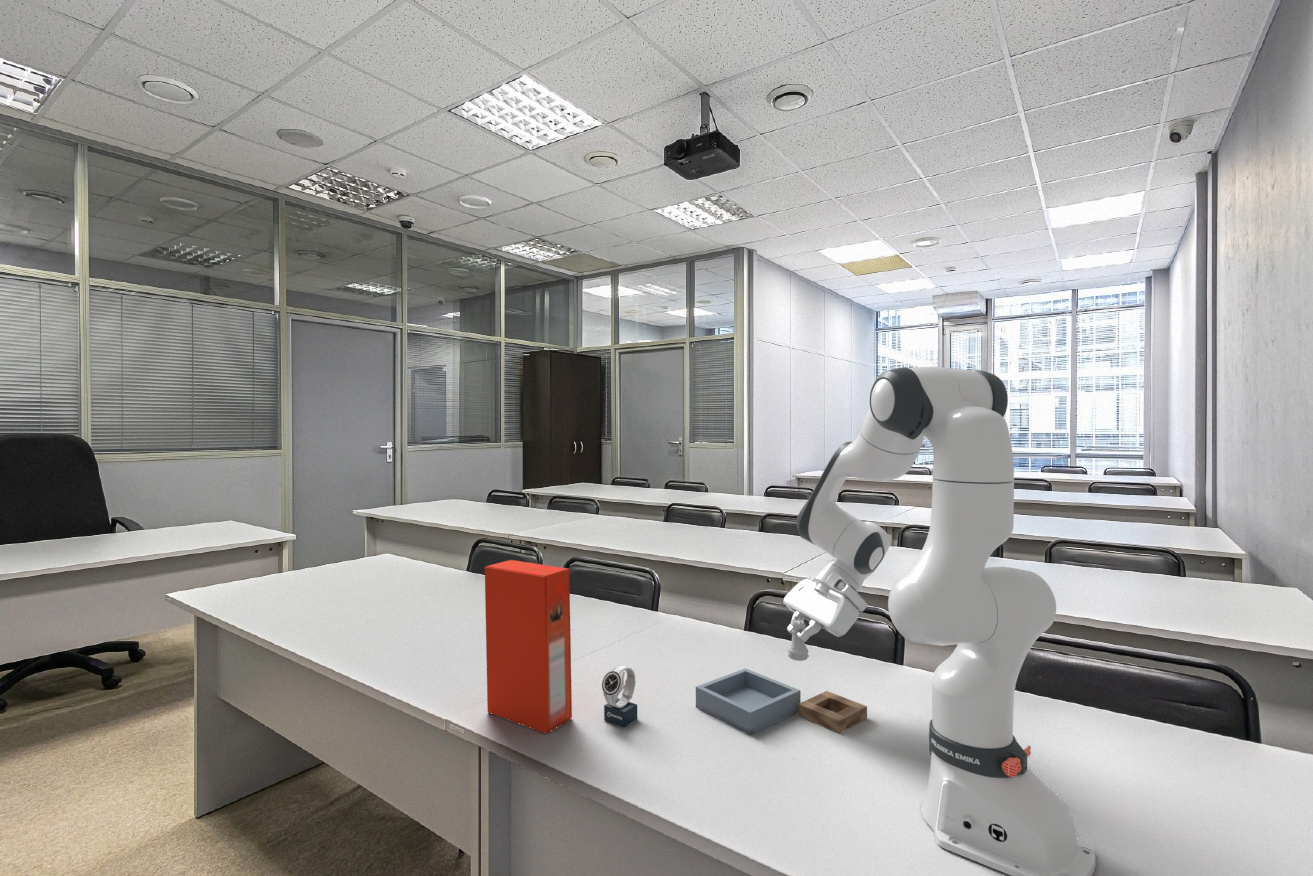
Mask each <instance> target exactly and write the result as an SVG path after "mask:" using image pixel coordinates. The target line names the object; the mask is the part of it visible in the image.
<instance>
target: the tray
mask: <svg viewBox="0 0 1313 876" xmlns="http://www.w3.org/2000/svg"><path fill="white" fill-rule="evenodd" d="M801 694H802V693H801V690H800V689H798V688H795V687H794V686H790V685H788V684H786V683H783V682H781V681H778V680H775V679H773V678H771V677H769V676H766V675H763V674H761V673H758V672H756V671H753V670H751V669H748V668H742V669H740V670H737V671H735V672H731V673H728V674H727V675H724V676H722V677H718V678H716V679H714V680H710V681H707V682H705V683H702V684H700V685H697V686H695V708H697V709H698V710H701V711H702V712H705V713H706V714H708V715H710V716H712V717H714V718H716V719H718V720H720V721H722V722H724V723H726V724H728V725H730V726H732V727H734V728H736V729H737V730H740V731H742V732H743V733H745V734H747V735H749V736H752V735H754V734H756V733H758V732H761V731H762V730H764V729H767V728H768V727H771V726H772V725H775V724H777V723H779V722H781V721H783V720H785V719H788V718H790V717H791V716H793V715H796V714H797V713H798V714H799V703H801V700H802V699H801Z"/></svg>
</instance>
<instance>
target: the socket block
mask: <svg viewBox="0 0 1313 876" xmlns="http://www.w3.org/2000/svg"><path fill="white" fill-rule="evenodd" d="M798 716H799V717H800V718H804V719H805V720H807V721H809V722H812V723H814V724H817V725H818V726H821V727H823V728H826V729H828V730H831V731H833V732H835V733H838V734H842V733H843V732H845V731H846V730H848V729H850V728H852V727H854V726H855V725H857V724H859V723H861V722H862V721H864V720H867V719H868V706H866V705H865V704H862V703H859V702H856V701H854V700H852V699H849V698H847V697H844V696H842V695H839V694H836V693H833V692H831V691H828V690H825V691H823V692H821V693H819V694H817V695H813V696H812V697H810V698H808V699H806V700H803V701H802V702H801V703H799V712H798Z"/></svg>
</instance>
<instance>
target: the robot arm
mask: <svg viewBox="0 0 1313 876" xmlns="http://www.w3.org/2000/svg"><path fill="white" fill-rule="evenodd" d="M1008 396H1009V395H1008V391H1007V387H1006V385H1005V383H1004V381H1003V380H1002V379H1001V378H1000V377H999V376H997V375H996V374H993V373H990V372H988V371H984V370H980V369H974V368H973V369H969V370H967V369H961V368H952V367H950V368H949V367H944V366H921V367H911V368H909V367H904V366H903V367H898V368H894V369H893V368H892V369H889V370H886V371H884V372H881V373H880V374H879V375H878V376H877V378H876V379H875V381H874V382H873V384H872V386H871V388H870V393H869V408H868V410H867V413H866V415H865V417H864V419H863V423H862V425H861V428H860V431H859V434H858V435H857V437H856V438H855V439H854V440H852V441H845V442H844V443H843V444H841V446H840V445H839V447H838V448H837V449H836V451H835V452H834V453H833V455H832V456H831V458H830V459H829V461H828V463H827V465H826V466H825V468H824V469H823V472H822V474H821V476H820V477H819V479H818V481H817V483H816V485H815V487H814V489H813V490H812V492H811V494H810V496H809V498H808V499H807V501H806V502H805V504H803V506H802V508H801V509H800V511H799V513H798V515H797V517H796V527H797V532H798V535H799V536H800V538H802V539H803V540H805V541H807V542H809V543H810V544H813V545H814V546H816V547H818V548H820V549H821V550H822V551H824V552H825V553H827V554H828V555H830V556H832V558H831V559H829V560H827V562H826V563H825V564H824V565H823V566H822V567H821V568H820V570H819V571H818V572H817V573H816V575H815V576H810V577H808V578H805V579H802V580H800V581H799V582H797V583H796V585H795V586H793V587H792V588H791V589H790V590H789V592H787V594H785V596H784V598H783V601H782V602H783V604H784V605H785V607H786V608H788V610H789V611H791V612H793V614H792V618H791V622H790V624H791V623H792V619H797V621H798V619H801V621H802V619H803V620H804V621H805V620H806V621H808V624H809V625H807V626H805V627H804V630H802V629H801V630H800V631H799V633H798V634H797V637H798V638H799V639H800V640H802V641H804V642H807V641H808V640H809V638H810V637H812V636H814V635H816V634H817V633H819V632H820V630H822V629H823V630H825V631H826V632H828V633H829V634H831V635H833V636H835V637H837V638H840V637H842V636H844V635H845V634H847V632H848V631H849V630H850V629H851V628H852V626H853V625H854V624H855V622H856V621H857V620H858V618H859V616H860V613H861V612H864V611H865V609H866V608H867V607H868V604H867V602H866V601H865V600H864V599H863V598H862V596H861V595H860V594H859V591H860V590H861V589H862V587H863V584H864V581H865V580H867V578H868V577H870V576H872V575H873V573H874V572H875V571H876V569H877V568H878V567H879V565H880V564H881V562H882V561H883V559H884V557H885V556H886V554H887V552H888V551H889V548H890V546H891V544H892V543H891V538H890V536H889V534H888V532H887V531H886V530H885V529H884V528H882V527H881V526H880V525H878V524H877V523H874V522H871V521H863V520H860V519H858V518H857V517H855V516H854V515H852V514H851V513H849V512H847V511H845V510H844V509H843V508H841V507H840V506H839V505H838V504H837V502H836V501H835V500H836V497H837V496H838V494H839V492H840V490H841V488H842V486H843V484H845V481H847V478H855V479H862V480H866V481H870V482H871V481H872V482H888V481H892V480H893V481H894V480H896V479H899V478H901V477H903V476H904V475H906V474H907V473H908V472H910V470H911V468H912V467H913V465H914V464H915V461H916V460H917V457H918V456H919V453H920V451H921V448H922V445H923V442H924V439H925V438H926V439H927V440H928V441H929V442H930V445H931V448H932V450H933V462H932V488H931V489H932V492H931V493H932V495H931V496H932V497H931V498H932V499H931V514H930V523H929V524H930V525H929V528H928V534H927V537H926V540H925V543H924V544H923V547H922V549H921V551H920V553H919V555H918V557H917V558H916V560H915V562H914V563H913V564H912V566H911V567H910V568H909V569H908V570H907V571H906V572H905V573H904V574H903V575H902V576H901V577H899V578H898V579H897V580H896V581H895V582H894V583H893V585H892V587H891V588H890V592H889V594H888V601H887V607H888V613H889V616H890V619H891V622H892V624H893V625H894V627H895V629H896V630H897V631H898V633H900V635H901V636H902V637H903V638H904V639H906V640H907V641H909V642H912V643H918V644H925V645H931V646H932V645H933V646H941V647H942V646H943V647H944V646H954V645H956V647H955V648H954V650H953V652H952V653H951V654H950V656H948V657H947V659H945V660H944V661H942V662H941V663H940V664H939V665H938V666H937V667H936V669H935V670H934V672H933V675H932V678H931V709H932V711H931V714H932V715H931V720H930V721H929V728H928V729H929V730H928V732H929V733H928V750H929V755H930V767H929V776H928V781H927V786H926V791H925V795H924V798H923V800H922V804H921V807H920V808H921V809H920V810H921V812H920V813H921V816H922V817H923V819H924V821H925V822H926V824H927V825H928V826H929V827H930V828H931V829H932V831H933V832H934V837H935V841H936V843H937V844H938V845H939V847H941V848H943V849H944V850H947V851H949V852H952V853H954V854H956V855H960V856H962V857H964V858H967V859H970V860H971V861H974V862H977V863H979V864H982V865H984V866H986V867H989V868H992V869H993V870H996V871H998V872H1002V873H1003V874H1006V875H1009V876H1093V874H1094V872H1095V870H1096V865H1097V861H1096V860H1097V859H1096V853H1095V850H1094V847H1093V845H1092V844H1091V843H1090V841H1089V840H1087V839H1086V838H1083V837H1081V836H1079V835H1078V834H1077V833H1076V828H1075V827H1076V826H1075V823H1074V820H1073V819H1074V818H1073V816H1072V812H1071V811H1070V809H1069V807H1068V805H1067V804H1066V802H1064V800H1062V799H1061V797H1059V796H1058V795H1057V794H1056V793H1055V792H1054V791H1052V789H1051V788H1050V787H1048V785H1046V784H1045V782H1044V781H1042V780H1041V779H1040V777H1039V776H1037V775H1036V773H1034V772H1033V771H1032V770H1031V769H1030V767H1028V758H1029V757H1030V756H1031V753H1032V751H1031V748H1032V746H1031V745H1028V746H1027V747H1026V748H1024V749H1023V747H1022V746H1021V745H1020V744H1019V742H1018V741H1017V738H1016V737H1015V735H1014V707H1015V706H1014V703H1015V690H1016V685H1017V680H1018V677H1019V673H1020V672H1021V669H1022V666H1023V665H1024V662H1025V659H1026V658H1027V655H1028V653H1029V651H1030V650H1031V648H1032V646H1033V645H1034V643H1035V642H1036V641H1037V640H1038V639H1039V637H1040V636H1042V635H1043V634H1044V633H1045V632H1046V631H1047V630H1048V629H1049V628H1051V626H1052V625H1053V624H1054V622H1055V619H1056V615H1057V602H1056V598H1055V595H1054V592H1053V590H1052V589H1051V587H1050V585H1049V584H1048V582H1047V581H1046V580H1045V579H1044V578H1043V577H1041V575H1039V574H1037V573H1036V572H1033V571H1030V570H1025V569H1020V568H1015V567H1014V568H1013V567H1009V566H988V567H987V566H986V564H987V562H988V559H990V556H991V555H992V554H993V552H994V551H995V550H997V548H999V547H1000V546H1001V545H1002V544H1004V543H1005V542H1006V541H1007V540H1008V539H1010V536H1012V534H1013V531H1014V517H1015V516H1014V513H1015V512H1014V511H1015V510H1014V509H1015V503H1014V501H1015V499H1014V498H1015V469H1014V468H1015V467H1014V466H1015V465H1014V454H1013V446H1012V440H1011V434H1010V431H1009V430H1010V429H1009V426H1008V422H1007V420H1006V419H1005V418H1004V417H1005V415H1006V412H1007V409H1008V403H1009V399H1008ZM790 624H789V625H788V626H787V628H786V630H787V632H788V633H790V634H791V635H792V629H793V628H792V626H791V625H790Z"/></svg>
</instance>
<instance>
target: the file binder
mask: <svg viewBox="0 0 1313 876" xmlns="http://www.w3.org/2000/svg"><path fill="white" fill-rule="evenodd" d="M570 578H571V577H570V569H569V568H568V567H567V568H566V567H561V566H553V565H547V564H540V563H534V562H527V561H521V560H514V559H509V560H505V561H501V562H497V563H493V564H490V565H486V566H485V567H484V594H485V595H484V596H485V597H484V598H485V599H484V600H485V601H484V602H485V604H484V607H485V641H486V642H485V643H486V644H485V648H486V651H485V652H486V653H485V654H486V656H485V657H486V694H487V695H486V697H487V699H486V700H487V701H486V702H487V704H486V705H487V713H488V714H490V713H492V714H494V715H493V716H495V715H497V716H496V717H498V716H500V717H499V718H501V717H503V718H502V719H504V718H506V719H509V720H511V721H510V722H512V721H514V722H513V723H515V722H516V723H515V724H518V723H520V724H523V725H525V726H524V727H526V726H527V727H526V728H529V727H531V728H530V729H532V728H534V729H535V731H537V730H539V731H538V732H540V731H542V732H541V733H543V732H545V733H544V734H546V733H548V734H549V732H550V731H551V730H553V731H554V730H556V729H557V728H556V727H558V728H559V727H560V725H561V724H562V725H564V724H565V723H567V722H569V721H570V720H571V719H572V717H573V711H572V710H573V708H572V707H573V705H572V703H573V702H572V701H573V699H572V652H571V651H572V647H571V646H572V644H571V641H572V638H571V596H570V595H571V593H570V592H571V591H570V590H571V589H570V588H571V586H570V585H571V584H570V581H571V580H570ZM492 714H491V715H492ZM506 719H505V720H506ZM509 720H508V721H509ZM568 720H569V721H568ZM563 723H564V724H563ZM520 724H519V725H520ZM523 725H522V726H523ZM562 725H561V726H562ZM555 728H556V729H555ZM534 729H533V730H534ZM551 732H552V731H551ZM551 732H550V733H551Z"/></svg>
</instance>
